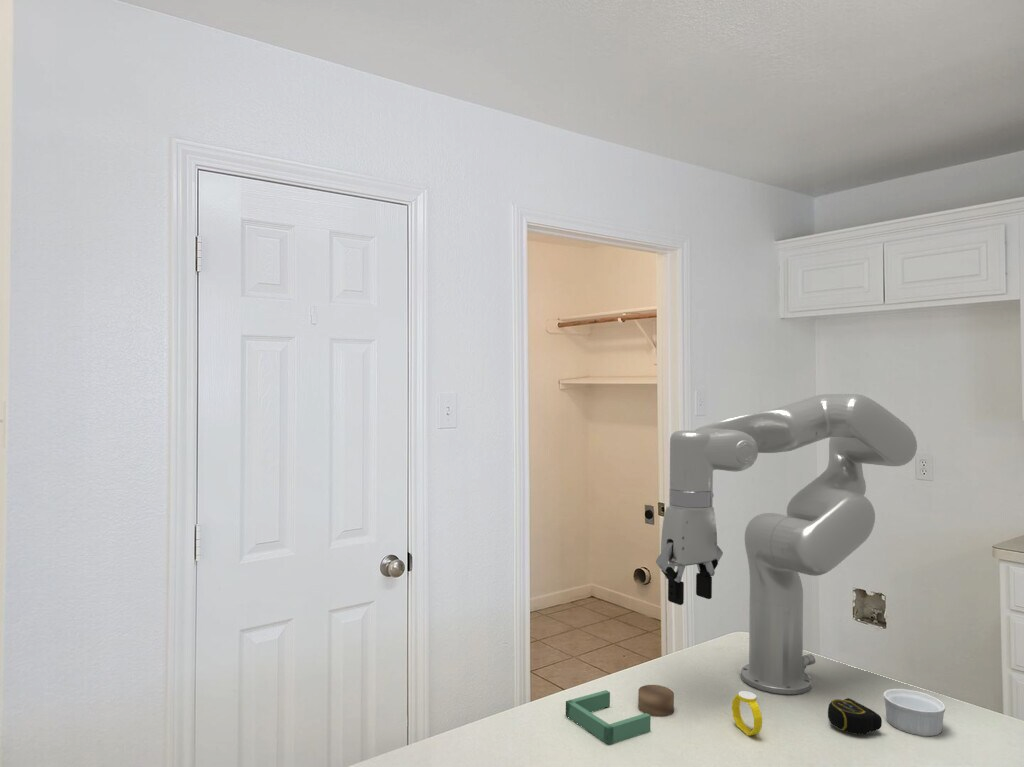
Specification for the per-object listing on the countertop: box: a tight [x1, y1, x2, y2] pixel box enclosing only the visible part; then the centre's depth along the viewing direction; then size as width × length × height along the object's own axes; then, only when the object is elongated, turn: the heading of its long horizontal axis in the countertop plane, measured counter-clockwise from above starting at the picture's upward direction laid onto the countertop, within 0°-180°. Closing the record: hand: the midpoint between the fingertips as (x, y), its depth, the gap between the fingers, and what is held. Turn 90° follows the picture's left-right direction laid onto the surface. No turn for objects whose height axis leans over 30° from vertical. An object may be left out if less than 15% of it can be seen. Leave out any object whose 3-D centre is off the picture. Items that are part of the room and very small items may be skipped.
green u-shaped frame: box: [565, 689, 652, 746], centre depth 112 cm, size 9×11×2 cm
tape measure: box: [827, 698, 883, 735], centre depth 112 cm, size 7×7×4 cm
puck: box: [637, 684, 675, 718], centre depth 118 cm, size 6×6×3 cm
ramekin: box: [883, 688, 946, 737], centre depth 113 cm, size 9×9×4 cm
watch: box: [731, 690, 763, 737], centre depth 110 cm, size 6×3×6 cm, turn 18°
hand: (689, 599), depth 122 cm, fingers open, 6 cm apart
